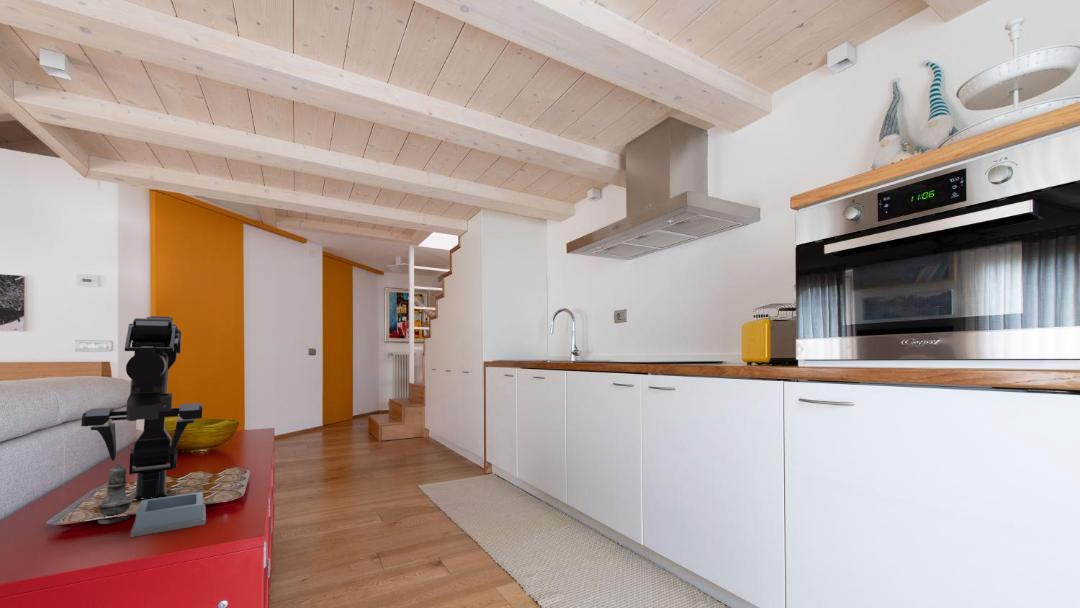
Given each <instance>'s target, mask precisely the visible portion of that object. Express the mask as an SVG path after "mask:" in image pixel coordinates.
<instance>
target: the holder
mask: <svg viewBox="0 0 1080 608" xmlns="http://www.w3.org/2000/svg"><path fill="white" fill-rule="evenodd" d="M206 510H207V509H206V504H205V503H204V491H199V492H193V493H192V492H191V493H183V494H178V495H169V496H165V497H158V498H151V499H143V500H140V503H139V506H138V509H137V511H136V514H135V520H134V521H133V522H134V523H133V524H132V528H131V530H130V538H135V536H136V537H140V536H146V535H152V533H153V534H157V533H164V532H170V531H174V530H176V531H177V530H181V529H186V528H192V527H198V526H203V525H204V526H205V525H206V524H207V523H206V522H207V514H206Z"/></svg>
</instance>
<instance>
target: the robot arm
mask: <svg viewBox="0 0 1080 608" xmlns="http://www.w3.org/2000/svg"><path fill="white" fill-rule="evenodd" d="M124 352H133V353H134V354H133V356H132V357H130V359H129V360H128V361H127V363H126V365H125V371H126V374H127V376H128V377H129V378H130V388H129V389H130V390H129V396H128V398H127V400H126V409H125V410H115V408H114V407H97V408H95V407H94V408H90V409H88V410H86V411H85V412H84V413H82V417H81V423H80V424H81V425H80V427H90V430H91V431H97V432H98V433H99V434H100V436H101V438H102V439H103V441H104V442H105V446H106V448H107V449H106V450H107V452H108V454H109V457H110V459H111V461H115V460H116V458H117V457H116V455H117V442H116V441H117V439H116V437H117V436H116V422H113V421H125V420H126V421H129V422H135V421H137V420H143V431H142V432H141V434H140V435H139V437H138V438H137V439H136V441H135V443H134V445H133V448H131V449H130V453H129V469H128V470H129V474H128V475H135V474H136V482H135V483H136V485H135V492H133V493H134V494H133V496H132V497H131V498H132V499H141V498H151V497H158V498H162V497H163V496H165V497H167V494H168V488H166V481H167V480H166V479H167V478H166V477H167V471H169V470H170V471H172V470H173V469H174V470H175V469H176V468H177V465H178V461H177V460H178V450H177V446H178V443H179V441H180V438H181V437H182V434H183V433H184V431H185V430H186V428H187V426H189V424H194V423H195V420H197V419H198V420H199V419H202V418H203V406H204V405H203V404H202V403H200V402H191V403H180V405H179V407H173V393H172V392H169V393H168V385H169V383H168V381H169V370H170V369H171V368H172V366H173V365H174V364H175V362H176V361H177V359H178V354H181V352H182V331H181V330H180V329H179V328H178V325H177V324H174V318H173V317H171V316H161V315H160V316H159V315H157V316H155V315H151V316H146V318H137V317H136V318H134V319H133V321H132V323H129V324H128V328H127V333H126V339H125V345H124ZM172 417H177V420H176V422H175V430H174V434H173V438H172V436H171V435H170V433H169V431H168V430H167V429H166V418H172ZM151 499H152V498H151Z"/></svg>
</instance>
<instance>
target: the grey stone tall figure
mask: <svg viewBox="0 0 1080 608" xmlns="http://www.w3.org/2000/svg"><path fill="white" fill-rule="evenodd" d="M126 479H127V468H126V466H123V465H121V462H120V461H117V463H116V466H114V467H112V468H111V469H109V473H108V483H107V484H105V487H107V491H106V496H105V499H104V500H103V501H101V502H98V503H97V504H96V507H98V512H99V514H101V515H102V516H103V517H105V516H114V515H118V514H121V513H125V512H127V511H128V510H129V509H130V507H131V506H132V502H134V501H133V499H132V498H133V497H128V496H127V494H126V485H127V484H128V483H129V482H128V481H127V480H126ZM129 518H131V515H130V516H129V517H127V516H124V517H113V518H109V519H101V518H100V519H101V520H100V519H99V520H97V523H98V524H100V525H101V524H102V525H104V524H106V525H107V524H115V523H118V522H122V521H125V520H128V519H129Z"/></svg>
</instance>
